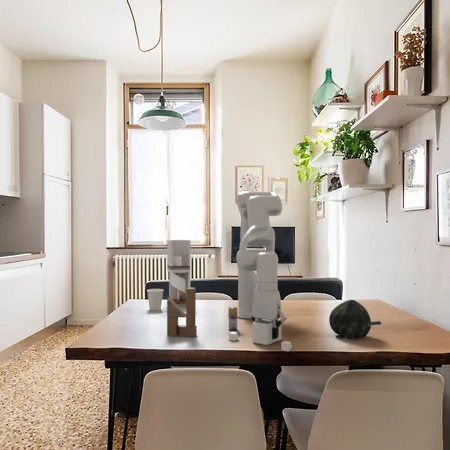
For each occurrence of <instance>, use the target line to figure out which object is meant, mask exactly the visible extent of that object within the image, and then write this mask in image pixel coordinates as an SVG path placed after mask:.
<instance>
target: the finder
mask: <svg viewBox="0 0 450 450" xmlns="http://www.w3.org/2000/svg"><path fill="white" fill-rule="evenodd" d="M251 324H252V325H251V326H252V327H251V328H252V329H251V330H252V336H251V337H252V338H251V339H252V343H254V344H260V345H263V346H264V345H265V346H268V345H272V344H274V343H275V342H279V341H281V340H282V324H281V325H280V327H279V336H278V338H276V339H272V328H273V324H272V321H271V320H266V319H262V320H257V321H255V322H253V321H252V323H251Z"/></svg>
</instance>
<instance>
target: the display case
mask: <svg viewBox="0 0 450 450" xmlns="http://www.w3.org/2000/svg"><path fill="white" fill-rule="evenodd" d="M191 242H192V241H191V240H190V239H167V244H166V245H167V246H166V247H167V248H166V249H167V251H166V253H167V254H166V255H167V256H166V257H167V259H166V266H167V267H166V271H167V272H168V274H169V275H168V276H169V277H168V286H169V287H168V288H169V290H168V293H169V294H168V295H169V297H170V298H171V299H172V300H173V301H174V302H175V303H176V304H177V305H178V306H179V305H186V288H191V265H192V264H191V258H192V257H191V252H192V251H191V250H192V245H191V244H192V243H191ZM169 297H168V298H169ZM179 307H180V306H179Z"/></svg>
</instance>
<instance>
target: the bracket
mask: <svg viewBox="0 0 450 450" xmlns="http://www.w3.org/2000/svg"><path fill="white" fill-rule="evenodd" d="M373 325H374V326H375V325H382V321H381V320H378V321H371V326H373Z"/></svg>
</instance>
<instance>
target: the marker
mask: <svg viewBox="0 0 450 450" xmlns="http://www.w3.org/2000/svg"><path fill="white" fill-rule="evenodd" d="M280 343H281V345H280V346H281V349H280V350H281V351H284V352H290V351H292V341H286V340H285V341H282V342H280Z"/></svg>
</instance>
